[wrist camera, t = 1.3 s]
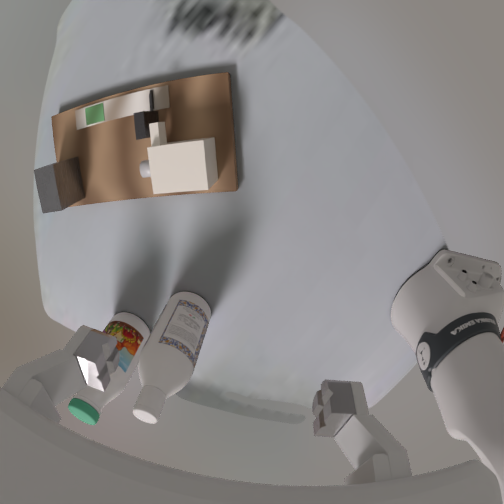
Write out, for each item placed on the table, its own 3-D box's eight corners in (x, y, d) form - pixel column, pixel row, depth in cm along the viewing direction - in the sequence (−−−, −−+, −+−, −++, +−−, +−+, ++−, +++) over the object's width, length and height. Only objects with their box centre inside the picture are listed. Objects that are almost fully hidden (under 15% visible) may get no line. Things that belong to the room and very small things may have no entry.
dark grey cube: (78, 156, 32) (52, 164, 27) (85, 197, 35) (61, 210, 30) (59, 161, 33) (33, 170, 28) (66, 200, 35) (42, 213, 30)
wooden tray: (230, 74, 28) (227, 71, 27) (238, 188, 34) (236, 191, 33) (57, 115, 31) (50, 116, 29) (71, 204, 37) (64, 208, 35)
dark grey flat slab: (156, 93, 28) (141, 90, 25) (160, 135, 31) (145, 138, 27) (147, 95, 28) (131, 93, 25) (151, 136, 31) (136, 140, 27)
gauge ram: (212, 115, 29) (201, 115, 25) (218, 179, 32) (208, 189, 28) (147, 125, 30) (127, 127, 26) (155, 185, 33) (137, 195, 29)
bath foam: (182, 329, 45) (140, 432, 27) (160, 296, 43) (103, 397, 25) (219, 320, 43) (188, 433, 26) (198, 284, 41) (150, 396, 23)
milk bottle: (159, 339, 47) (116, 433, 29) (130, 347, 49) (85, 430, 31) (134, 305, 44) (75, 398, 26) (105, 316, 46) (49, 397, 28)
